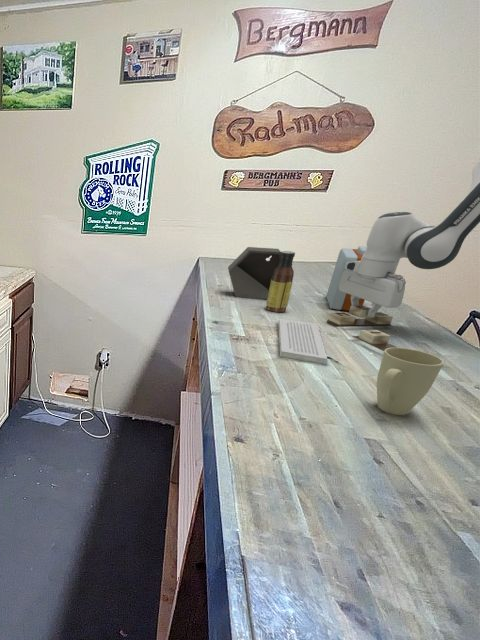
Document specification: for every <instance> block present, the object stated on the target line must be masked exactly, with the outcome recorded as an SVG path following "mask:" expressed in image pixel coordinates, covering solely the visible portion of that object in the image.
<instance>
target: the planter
mask: <svg viewBox="0 0 480 640" xmlns="http://www.w3.org/2000/svg"><path fill="white" fill-rule="evenodd" d="M281 252H282V251H281V250H280V249H279V248H272V247H271V248H270V247H257V246H256V247H255V246H247V247H246V248H245V249H244V250H243V251H242V252H241V253H240V254H239V255H238V257H236V258H235V259H234V260H233V261H232V262H231V263H230V264H229V265H228V266H227V269H228V274H229V277H230V281H231V286H232V289H233V293H234V296H235V297H237V298H244V299H253V300H254V299H255V300H267V298H268V294H269V289H270V284H271V279H272V276H273V273H274V271H275V269H276V268H277V266H278V265H279V261H280V254H281ZM267 259H269V260H267Z"/></svg>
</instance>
